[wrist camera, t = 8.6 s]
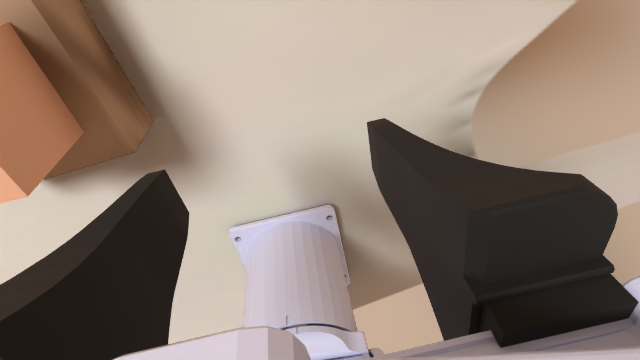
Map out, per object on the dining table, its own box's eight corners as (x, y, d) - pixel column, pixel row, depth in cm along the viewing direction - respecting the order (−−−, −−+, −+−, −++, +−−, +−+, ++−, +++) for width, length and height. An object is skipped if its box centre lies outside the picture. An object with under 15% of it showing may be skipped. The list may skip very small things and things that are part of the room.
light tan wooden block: (154, 117, 21) (135, 152, 18) (15, 160, 21) (-29, 201, 18) (48, -60, 16) (-8, -57, 12) (-135, 1, 16) (-236, 19, 13)
